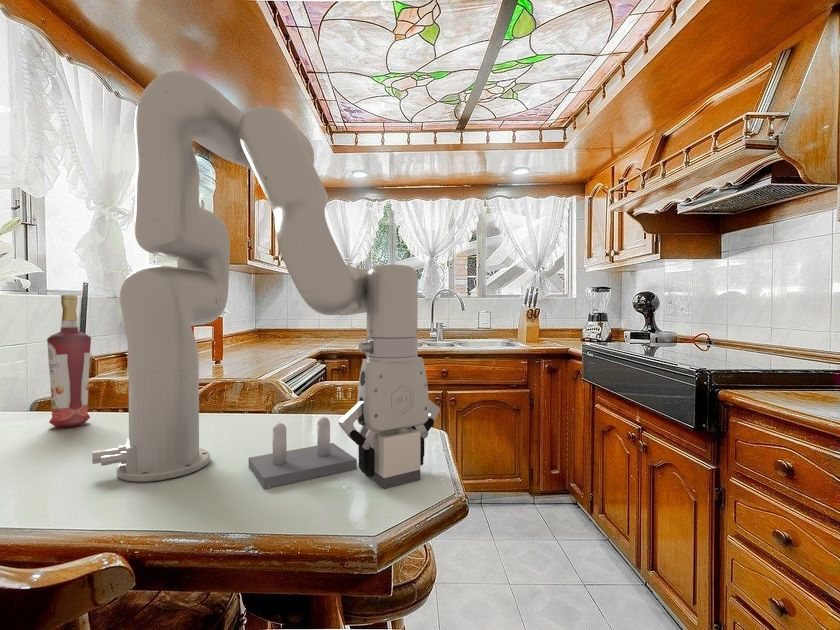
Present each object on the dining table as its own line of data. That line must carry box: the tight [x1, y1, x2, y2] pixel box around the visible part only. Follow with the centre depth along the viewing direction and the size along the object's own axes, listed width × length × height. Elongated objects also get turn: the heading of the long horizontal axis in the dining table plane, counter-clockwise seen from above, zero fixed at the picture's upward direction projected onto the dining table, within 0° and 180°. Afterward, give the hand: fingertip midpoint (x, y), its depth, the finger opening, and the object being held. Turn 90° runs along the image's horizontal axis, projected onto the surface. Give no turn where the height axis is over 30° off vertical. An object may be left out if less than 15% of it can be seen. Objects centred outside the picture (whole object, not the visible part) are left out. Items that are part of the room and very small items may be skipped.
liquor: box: [46, 294, 92, 429], centre depth 93 cm, size 7×7×28 cm
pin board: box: [248, 416, 358, 489], centre depth 68 cm, size 14×10×8 cm
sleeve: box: [365, 427, 421, 490], centre depth 64 cm, size 6×6×7 cm
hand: (392, 467), depth 64 cm, fingers open, 7 cm apart
